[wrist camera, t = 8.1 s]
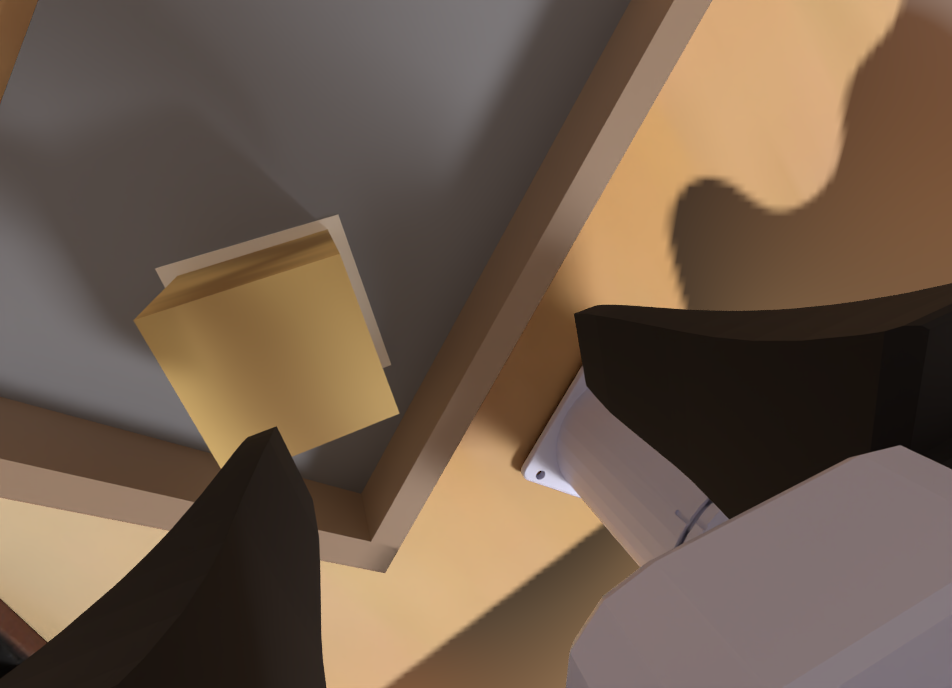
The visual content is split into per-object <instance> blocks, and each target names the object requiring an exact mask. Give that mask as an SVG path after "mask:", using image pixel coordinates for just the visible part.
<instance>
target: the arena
mask: <svg viewBox="0 0 952 688" xmlns="http://www.w3.org/2000/svg"><path fill="white" fill-rule="evenodd" d="M711 2H712V0H38V2H37V5H36V8H35V11H34V13H33V16H32V19H31V21H30V24H29V27H28V30H27V32H26V35H25V38H24V40H23V43H22V46H21V49H20V51H19V54H18V57H17V59H16V62H15V65H14V68H13V70H12V73H11V76H10V78H9V81H8V84H7V87H6V89H5V92H4V95H3V97H2V100H1V103H0V498H5V499H10V500H15V501H20V502H25V503H31V504H36V505H41V506H46V507H51V508H56V509H61V510H66V511H71V512H76V513H82V514H87V515H92V516H97V517H102V518H107V519H112V520H117V521H122V522H127V523H132V524H138V525H143V526H148V527H153V528H158V529H163V530H168V531H170V530H171V529H172V528H173V526H174V525H175V524H176V523H177V522H178V521H179V520H180V518H181V517H182V516H183V515H184V514H185V513H186V511H187V510H188V509H189V508H190V507H191V506H192V504H193V503H194V502H195V501H196V500H197V499H198V497H199V496H200V495H201V494H202V493H203V491H204V490H205V489H206V488H207V486H208V485H209V484H210V482H211V481H212V480H213V479H214V477H215V476H216V475H217V474H218V472H219V471H220V470H221V468H220V466H219V464H218V463H217V461H216V459H215V458H214V456H213V454H212V453H211V451H210V449H209V447H208V446H207V444H206V442H205V441H204V439H203V437H202V436H201V434H200V432H199V431H198V429H197V427H196V425H195V424H194V422H193V420H192V419H191V417H190V415H189V414H188V412H187V410H186V409H185V407H184V405H183V403H182V402H181V400H180V398H179V397H178V395H177V393H176V392H175V390H174V388H173V387H172V385H171V383H170V381H169V380H168V378H167V376H166V375H165V373H164V371H163V370H162V368H161V366H160V365H159V363H158V361H157V359H156V358H155V356H154V354H153V353H152V351H151V349H150V348H149V346H148V344H147V343H146V341H145V339H144V337H143V336H142V334H141V332H140V331H139V329H138V327H137V326H136V324H135V322H134V321H133V320H134V319H135V318H136V317H137V316H138V315H139V314H140V313H141V312H142V311H143V310H144V309H145V308H146V307H147V306H148V305H149V304H150V303H151V302H152V301H153V300H154V299H155V298H156V297H157V296H158V295H159V294H160V293H161V292H162V291H163V290H164V289H165V288H166V287H167V286H168V285H169V284H170V283H171V282H172V281H173V280H174V279H175V278H176V277H177V276H179V275H182V274H185V273H188V272H191V271H195V270H198V269H201V268H204V267H208V266H211V265H214V264H217V263H220V262H224V261H227V260H230V259H233V258H237V257H240V256H243V255H246V254H249V253H253V252H256V251H259V250H262V249H266V248H269V247H272V246H275V245H278V244H282V243H285V242H288V241H291V240H295V239H298V238H301V237H304V236H307V235H311V234H314V233H317V232H320V231H324V230H327V229H328V231H329V233H330V235H331V237H332V239H333V241H334V243H335V245H336V247H337V249H338V251H339V253H340V256H341V258H342V261H343V264H344V266H345V269H346V272H347V274H348V277H349V280H350V282H351V285H352V288H353V290H354V293H355V296H356V298H357V301H358V304H359V306H360V309H361V312H362V314H363V317H364V320H365V322H366V325H367V328H368V330H369V333H370V336H371V338H372V341H373V344H374V346H375V349H376V352H377V354H378V357H379V360H380V362H381V365H382V368H383V370H384V373H385V376H386V378H387V381H388V384H389V386H390V389H391V392H392V394H393V397H394V400H395V403H396V405H397V408H398V411H399V413H400V414H397V415H395V416H392V417H390V418H387V419H385V420H382V421H380V422H377V423H375V424H372V425H370V426H367V427H365V428H362V429H360V430H357V431H355V432H352V433H350V434H347V435H345V436H342V437H340V438H338V439H335V440H333V441H330V442H328V443H325V444H323V445H320V446H318V447H315V448H313V449H310V450H308V451H305V452H303V453H300V454H298V455H295V456H293V457H292V458H293V460H294V462H295V464H296V466H297V468H298V470H299V472H300V474H301V476H302V478H303V480H304V482H305V485H306V487H307V489H308V491H309V493H310V495H311V497H312V499H313V504H314V509H315V515H316V520H317V527H318V533H319V544H320V560H321V561H326V562H331V563H336V564H341V565H347V566H352V567H357V568H362V569H367V570H372V571H377V572H382V573H385V572H386V571H387V569H388V567H389V565H390V564H391V562H392V560H393V558H394V557H395V555H396V553H397V551H398V550H399V548H400V546H401V544H402V543H403V541H404V539H405V537H406V536H407V534H408V532H409V530H410V529H411V527H412V525H413V523H414V522H415V520H416V518H417V516H418V515H419V513H420V511H421V509H422V508H423V506H424V504H425V502H426V501H427V499H428V497H429V495H430V494H431V492H432V490H433V488H434V487H435V485H436V483H437V481H438V480H439V478H440V476H441V474H442V473H443V471H444V469H445V467H446V466H447V464H448V462H449V460H450V459H451V457H452V455H453V453H454V452H455V450H456V448H457V446H458V445H459V443H460V441H461V439H462V438H463V436H464V434H465V432H466V431H467V429H468V427H469V425H470V424H471V422H472V420H473V418H474V417H475V415H476V413H477V411H478V410H479V408H480V406H481V404H482V403H483V401H484V399H485V397H486V396H487V394H488V392H489V390H490V389H491V387H492V385H493V383H494V382H495V380H496V378H497V376H498V375H499V373H500V371H501V369H502V368H503V366H504V364H505V362H506V361H507V359H508V357H509V355H510V354H511V352H512V350H513V348H514V347H515V345H516V343H517V341H518V340H519V338H520V336H521V334H522V333H523V331H524V329H525V327H526V326H527V324H528V322H529V320H530V318H531V317H532V315H533V313H534V311H535V310H536V308H537V306H538V304H539V303H540V301H541V299H542V297H543V296H544V294H545V292H546V290H547V289H548V287H549V285H550V283H551V282H552V280H553V278H554V276H555V275H556V273H557V271H558V269H559V268H560V266H561V264H562V262H563V261H564V259H565V257H566V255H567V254H568V252H569V250H570V248H571V247H572V245H573V243H574V241H575V240H576V238H577V236H578V234H579V233H580V231H581V229H582V227H583V226H584V224H585V222H586V220H587V219H588V217H589V215H590V213H591V212H592V210H593V208H594V206H595V205H596V203H597V201H598V199H599V198H600V196H601V194H602V192H603V191H604V189H605V187H606V185H607V184H608V182H609V180H610V178H611V177H612V175H613V173H614V171H615V170H616V168H617V166H618V164H619V163H620V161H621V159H622V157H623V156H624V154H625V152H626V150H627V149H628V147H629V145H630V143H631V142H632V140H633V138H634V136H635V135H636V133H637V131H638V129H639V128H640V126H641V124H642V122H643V121H644V119H645V117H646V115H647V114H648V112H649V110H650V108H651V107H652V105H653V103H654V101H655V100H656V98H657V96H658V94H659V93H660V91H661V89H662V87H663V86H664V84H665V82H666V80H667V79H668V77H669V75H670V73H671V72H672V70H673V68H674V66H675V65H676V63H677V61H678V59H679V58H680V56H681V54H682V52H683V51H684V49H685V47H686V45H687V44H688V42H689V40H690V38H691V37H692V35H693V33H694V31H695V30H696V28H697V26H698V24H699V23H700V21H701V19H702V17H703V16H704V14H705V12H706V10H707V9H708V7H709V5H710V3H711Z"/></svg>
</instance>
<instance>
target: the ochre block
mask: <svg viewBox="0 0 952 688" xmlns="http://www.w3.org/2000/svg"><path fill="white" fill-rule="evenodd" d="M133 321H134V322H135V324H136V326H137V327H138V329H139V331H140V332H141V334H142V336H143V337H144V339H145V341H146V343H147V344H148V346H149V348H150V349H151V351H152V353H153V354H154V356H155V358H156V359H157V361H158V363H159V365H160V366H161V368H162V370H163V371H164V373H165V375H166V376H167V378H168V380H169V381H170V383H171V385H172V387H173V388H174V390H175V392H176V393H177V395H178V397H179V398H180V400H181V402H182V403H183V405H184V407H185V409H186V410H187V412H188V414H189V415H190V417H191V419H192V420H193V422H194V424H195V425H196V427H197V429H198V431H199V432H200V434H201V436H202V437H203V439H204V441H205V442H206V444H207V446H208V447H209V449H210V451H211V453H212V454H213V456H214V458H215V459H216V461H217V463H218V464H219V466H220V468H221V469H222V467H223V466H224V465H225V463H226V462H227V461H228V459H229V458H230V457H231V456H232V454H233V453H234V452H235V451H236V449H237V448H238V447H239V446H240V445H241V443H242V442H243V441H244V440H245V439H246V438H247V437H249V436H252V435H255V434H257V433H260V432H262V431H265V430H268V429H270V428H273V427H276V426H277V428H278V430H279V432H280V434H281V436H282V438H283V440H284V442H285V444H286V446H287V448H288V450H289V452H290V454H291V456H292V457H293V456H295V455H298V454H300V453H303V452H305V451H308V450H310V449H313V448H315V447H318V446H320V445H323V444H325V443H328V442H330V441H333V440H335V439H338V438H340V437H342V436H345V435H347V434H350V433H352V432H355V431H357V430H360V429H362V428H365V427H367V426H370V425H372V424H375V423H377V422H380V421H382V420H385V419H387V418H390V417H392V416H395V415H397V414H400V413H399V411H398V408H397V405H396V403H395V400H394V397H393V394H392V392H391V389H390V386H389V384H388V381H387V378H386V376H385V373H384V370H383V368H382V365H381V362H380V360H379V357H378V354H377V352H376V349H375V346H374V344H373V341H372V338H371V336H370V333H369V330H368V328H367V325H366V322H365V320H364V317H363V314H362V312H361V309H360V306H359V304H358V301H357V298H356V296H355V293H354V290H353V288H352V285H351V282H350V280H349V277H348V274H347V272H346V269H345V266H344V264H343V261H342V258H341V256H340V253H339V251H338V249H337V247H336V245H335V243H334V241H333V239H332V237H331V235H330V233H329V231H328V229H327V230H324V231H320V232H317V233H314V234H311V235H307V236H304V237H301V238H298V239H295V240H291V241H288V242H285V243H282V244H278V245H275V246H272V247H269V248H266V249H262V250H259V251H256V252H253V253H249V254H246V255H243V256H240V257H237V258H233V259H230V260H227V261H224V262H220V263H217V264H214V265H211V266H208V267H204V268H201V269H198V270H195V271H191V272H188V273H185V274H182V275H179V276H177V277H176V278H175V279H174V280H173V281H172V282H171V283H170V284H169V285H168V286H167V287H166V288H165V289H164V290H163V291H162V292H161V293H160V294H159V295H158V296H157V297H156V298H155V299H154V300H153V301H152V302H151V303H150V304H149V305H148V306H147V307H146V308H145V309H144V310H143V311H142V312H141V313H140V314H139V315H138V316H137V317H136V318H135V319H134V320H133Z"/></svg>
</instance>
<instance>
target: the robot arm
mask: <svg viewBox="0 0 952 688" xmlns="http://www.w3.org/2000/svg"><path fill="white" fill-rule="evenodd" d="M574 317H575V323H576V328H577V334H578V340H579V346H580V352H581V358H582V364H583V365H582V367H581V368H580V370H579V372H578V374H577V375H576V377H575V379H574V380H573V382H572V384H571V385H570V387H569V389H568V390H567V392H566V394H565V395H564V397H563V399H562V400H561V402H560V404H559V405H558V407H557V409H556V410H555V412H554V414H553V415H552V417H551V419H550V420H549V422H548V424H547V425H546V427H545V429H544V430H543V432H542V434H541V435H540V437H539V439H538V440H537V442H536V444H535V445H534V447H533V449H532V450H531V452H530V454H529V455H528V457H527V459H526V461H525V462H524V464H523V466H522V468H521V473H522V475H523V476H524V478H525V479H526V480H528V481H531V482H534V483H537V484H540V485H543V486H546V487H549V488H552V489H555V490H558V491H561V492H564V493H567V494H570V495H573V496H576V497H579V498H582V500H583V501H584V502H585V503H586V504H587V505H588V507H589V508H590V509H591V510H592V511H593V512H594V514H595V515H596V516H597V517H598V518H599V519H600V521H601V522H602V523H603V524H604V525H605V527H606V528H607V529H608V530H609V531H610V532H611V534H612V535H613V536H614V537H615V538H616V539H617V541H618V542H619V543H620V544H621V545H622V546H623V548H624V549H625V550H626V551H627V552H628V554H629V555H630V556H631V557H632V558H633V559H634V561H635V562H636V563H637V564H638V565H639V566H640V568H639V569H638V570H636V571H635V572H634V573H632V574H631V575H630V576H629V577H627V578H626V579H625V580H623V581H622V582H621V583H619V584H618V585H617V586H615V587H614V588H613V589H612V590H610V591H609V592H607V593H606V594H605V595H604V596H603V597H602V598H601V600H600V601H599V603H598V604H597V606H596V607H595V609H594V610H593V612H592V613H591V615H590V616H589V618H588V619H587V621H586V622H585V624H584V626H583V627H582V629H581V630H580V632H579V633H578V635H577V636H576V638H575V639H574V641H573V644H572V647H571V650H570V654H569V663H568V674H567V682H566V688H952V283H951V284H947V285H942V286H937V287H933V288H928V289H923V290H919V291H915V292H910V293H904V294H899V295H893V296H888V297H881V298H875V299H869V300H863V301H857V302H849V303H842V304H834V305H826V306H816V307H805V308H797V309H782V310H760V311H759V310H758V311H707V310H684V309H669V308H655V307H642V306H628V305H597V306H594V307H591V308H588V309H586V310H583V311H580V312H578V313H575V314H574ZM539 471H541V473H540V474H538V475H536V474H537V473H538V472H539ZM0 688H326V681H325V673H324V665H323V656H322V640H321V591H320V544H319V533H318V527H317V520H316V515H315V509H314V504H313V499H312V497H311V495H310V493H309V491H308V489H307V487H306V485H305V482H304V480H303V478H302V476H301V474H300V472H299V470H298V468H297V466H296V464H295V462H294V460H293V458H292V456H291V454H290V452H289V450H288V448H287V446H286V444H285V442H284V440H283V438H282V436H281V434H280V432H279V430H278V428H277V426H276V427H273V428H270V429H268V430H265V431H262V432H260V433H257V434H255V435H252V436H249V437H247V438H246V439H245V440H244V441H243V442H242V443H241V445H240V446H239V447H238V448H237V449H236V451H235V452H234V453H233V454H232V456H231V457H230V458H229V459H228V461H227V462H226V463H225V465H224V466H223V467H222V469H221V470H220V471H219V472H218V474H217V475H216V476H215V477H214V479H213V480H212V481H211V482H210V484H209V485H208V486H207V488H206V489H205V490H204V491H203V493H202V494H201V495H200V496H199V497H198V499H197V500H196V501H195V502H194V503H193V504H192V506H191V507H190V508H189V509H188V510H187V511H186V513H185V514H184V515H183V516H182V517H181V518H180V520H179V521H178V522H177V523H176V524H175V525H174V526H173V528H172V529H171V530H170V531H169V532H168V533H167V534H166V536H165V537H164V538H163V539H162V540H161V541H160V542H159V543H158V544H157V545H156V546H155V547H154V548H153V549H152V550H151V551H150V552H149V553H148V554H147V555H146V556H145V557H144V558H143V559H142V560H141V561H140V562H139V563H138V564H137V565H136V566H135V567H134V568H133V569H132V570H131V571H130V572H129V573H128V574H127V575H126V576H125V577H124V578H123V579H122V580H120V581H119V582H118V583H117V584H116V585H115V586H114V587H113V588H112V589H110V590H109V591H108V592H107V593H106V594H105V595H103V596H102V597H101V598H100V599H99V600H98V601H97V602H95V603H94V604H93V605H92V606H91V607H90V608H88V609H87V610H86V611H85V612H84V613H83V614H81V615H80V616H79V617H78V618H77V619H76V620H74V621H73V622H72V623H71V624H70V625H69V626H67V627H66V628H65V629H64V630H63V631H62V632H60V633H59V634H58V635H57V636H55V637H54V638H53V639H52V640H50V641H49V642H48V643H47V644H45V645H44V646H43V647H41V648H40V649H39V650H38V651H36V652H35V653H34V654H32V655H31V656H30V657H29V658H27V659H26V660H25V661H23V662H22V663H21V664H20V665H18V666H17V667H15V668H14V669H13V670H11V671H10V672H9V673H7V674H6V675H5V676H3V677H2V678H1V679H0Z"/></svg>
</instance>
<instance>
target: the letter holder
mask: <svg viewBox="0 0 952 688" xmlns="http://www.w3.org/2000/svg"><path fill="white" fill-rule="evenodd" d="M45 644H47V642H46V641H45V640H44V639H42V638H41V637H40V636H39V635H38V634H37V633H36V632H35V631H34V630H33V629H32V628H31V627H30V626H28V625H27V624H26V623H25V622H24V621H23V620H22V619H21V618H20V617H19V616H18V615H16V614H15V613H14V612H13V611H12V610H11V609H10V608H9V607H8V606H7V605H6V604H5V603H4V602H3V601H1V600H0V679H1V678H2V677H3V676H5V675H6V674H7V673H9V672H10V671H11V670H13V669H14V668H15V667H17V666H18V665H20V664H21V663H22V662H23V661H25V660H26V659H27V658H29V657H30V656H31V655H32V654H34V653H35V652H36V651H38V650H39V649H40V648H41V647H43V646H44V645H45Z"/></svg>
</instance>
